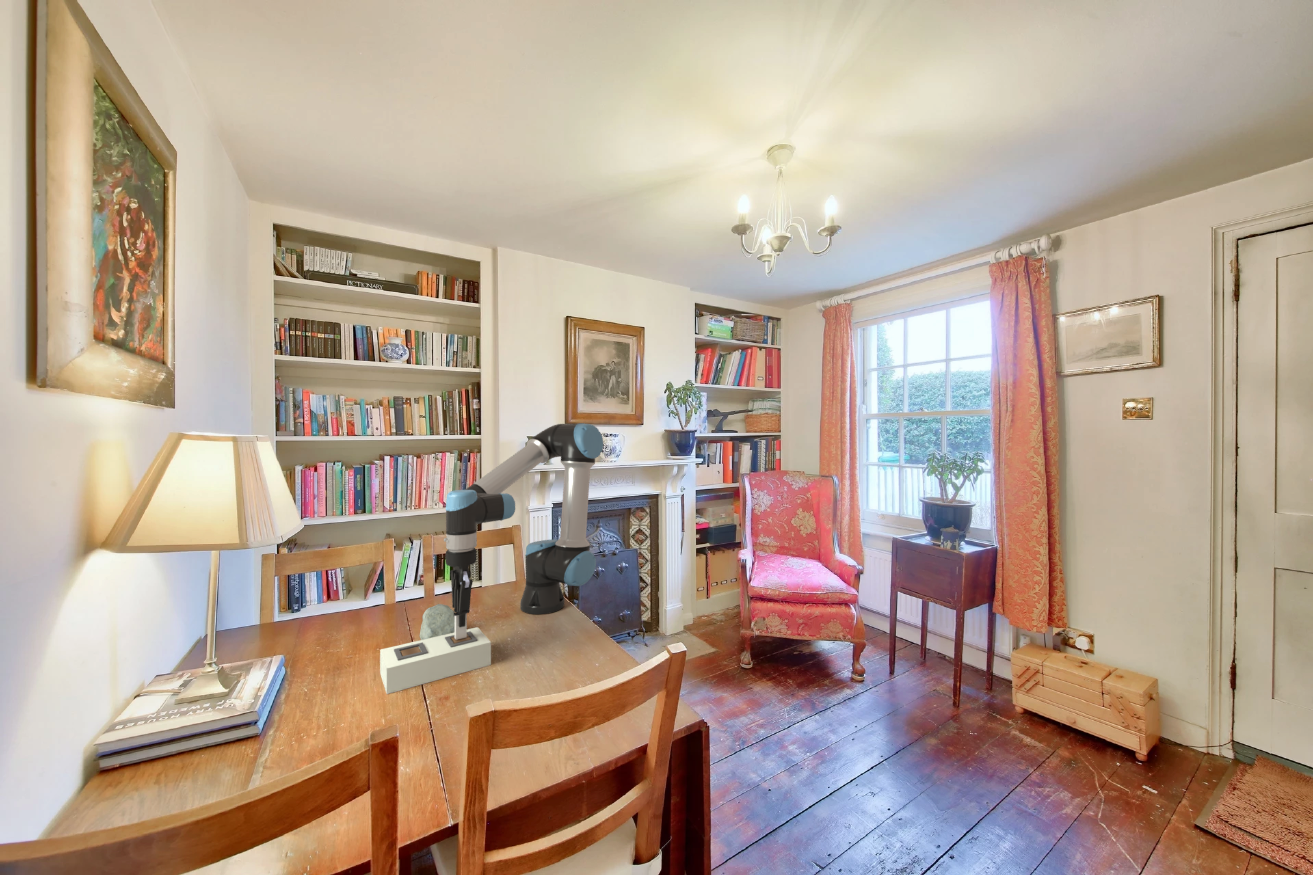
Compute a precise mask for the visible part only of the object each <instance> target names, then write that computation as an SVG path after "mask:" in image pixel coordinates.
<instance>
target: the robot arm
mask: <svg viewBox="0 0 1313 875" xmlns="http://www.w3.org/2000/svg"><path fill="white" fill-rule="evenodd" d="M603 449H604V438H603V435H602V433H601V431H600V430H599V428H598V427H597V426H595V425H593V424H590V423H584V422H583V423H582V422H581V423H557V424H553V425H552V426H549V427H547V428H545V429H544V430H542V431H540V432H539V433H537V434H536V435H534V436H533V437H531V438H530V439H529V440H527V442H526V445H525V446H524V447H522V448H521V449H520V450H518V451H517V452H516V453H514V454H513V455H512V456H510V457H508V458H507V459H506V460H504V461H503V462H502V463H500V464H498V466H496V467H495V468H493V469H492V470H490V471H489V472H488V473H486V474H485V475H484V476H482V477H480V478H479V479H478V480H476V481H475V482H473V483H472V484H471V485H469V486H468V487H467V488H465V489H456V490H450V491H448V493H447V494H446V500H445V501H446V502H445V503H446V504H445V534H446V535H445V536H446V537H444V538H443V542H445V548H446V549H447V550H446V551H445V564H446V566H448V567H452V568H453V569H452V570H450V572H449V575H450V582H451V601H452V604H451V606H452V607H451V608H453V611H454V616H455V635H454V638H455V639H456V640H457V639H462V638H466V637H467V628H468V624H467V623H468V622H467V620H468V614H470V608H471V599H472V598H471V597H472V596H471V595H472V585H473V582H474V581H473V579H471V577H472V576H471V575H472V573H471V570H470V568H469V567H470V565H474V564H475V563H477V549H476V547H477V545H478V544H477V538H478V537H477V535H478V534H477V533H478V532H477V529H478V528H477V527H478V525H480V524H483V523H485V524H487V523H491V522H497V521H501V522H502V521H504V520H507V519H510V518H512V517H513V516H514V515H515V512H516V501H515V498H514V497H513V495H511V494H509V493H503V492H504V491H506V490H508V488H510V487H511V486H512V485H513V484H515V483H516V482H518V481H519V480H520V479H521V478H523V477H524V476H525V475H526V474H528V473H529V472H530V471H532V470H533V469H535V468H536V467H537V466H538V465H540V464H545V463H547V462H549V460H551V459H554V458H559V457H560V463H561V465H563V467H564V474H563V475H564V476H563V477H564V478H563V489H562V490H563V491H562V506H561V518H560V534H559V535H560V537H559V538H558V539H544V540H538V541H537V540H536V541H533V542H530V543H528V544H527V546H526V549H525V555H524V556H525V587H524V591H523V593H522V596H521V599H520V603H519V604H520V609H519V610H521V611H522V612H523V613H526V614H531V615H545V614H551V613H555V612H557V611H560V610H562V609H563V608H564V607H565V597H564V593H563V590H562V587H561V584H564V585H566V586H574V587H581V586H583V585H586V584H587V583H588V582H589V581H590V580H591V578H592V577H593V575H594V573H595V570H596V567H597V559H596V558H597V557H596V556H595V554H594V553H593V552H592V551H590V547H591V544H590V542H589V541H588V540H587V528H588V527H587V524H588V522H587V521H588V511H589V510H588V508H589V506H588V505H589V492H590V491H589V490H590V476H591V468H592V467H594V466H595V465H596V459H597V458H599V457H600V456H601V453H602V452H603ZM560 583H561V584H560ZM563 606H564V607H563ZM561 608H562V609H561Z"/></svg>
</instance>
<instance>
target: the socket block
mask: <svg viewBox="0 0 1313 875" xmlns="http://www.w3.org/2000/svg"><path fill="white" fill-rule="evenodd" d="M454 635H455V632H454V633H450V634H446V635H441V636H437V637H433V638H428V639H424V640H421V639H420V640H416V641H412V642H407V643H402V644H400V645H394V646H390V647H385V648H381V649H380V650H379V652H380V653H379V664H380V665H379V668H380V669H379V673H380V677H381V682H382V683H383V686H384V690H385V693H386V695H388V694H389V695H390V694H392V693H396V692H399V691H400V692H401V691H403V690H407V689H410V688H414V687H417V686H420V685H425V684H427V683H431V682H436V681H439V680H441V679H445V678H450V677H452V676H455V675H460V674H464V673H467V672H471V671H475V670H478V669H482V668H485V667H489V666H491V665H492V642H491V640H490V639H489V638H488V637H487V636H486V635H485V633H483V631H482V630H481V629H480V628H479V627H478V626H476V627H473V628H472V627H471V628H468V629H467V635H468V636H469V637H470V639H471V640H467V641H463V642H459V643H455V644H454V643H453V642H452V640H451V638H452V637H454ZM415 647H419V649H420V651H421V652H418V653H414V654H410V655H406V656H402V655H401V651H402V650H406V649H410V648H415Z"/></svg>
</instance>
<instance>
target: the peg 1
mask: <svg viewBox="0 0 1313 875" xmlns="http://www.w3.org/2000/svg"><path fill="white" fill-rule="evenodd" d="M418 652H421V651H420V649H419V647H415V648H410V649H406V650H402V651H401V655H402V656H406V655H410V654H414V653H418Z"/></svg>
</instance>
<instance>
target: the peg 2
mask: <svg viewBox="0 0 1313 875" xmlns="http://www.w3.org/2000/svg"><path fill="white" fill-rule="evenodd" d="M451 640H452V642H453V643H454V644H455V643H459V642H463V641H467V640H471V639H470V637H469V636H468V635H467V637H466V638H462V639H457V640H456V639H455V638H454V637H452V638H451Z"/></svg>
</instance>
